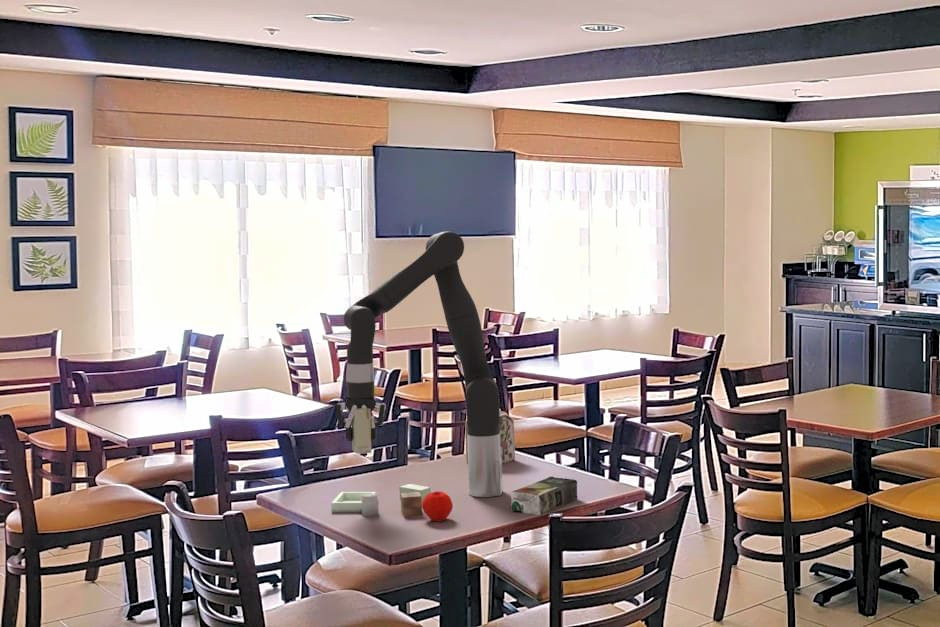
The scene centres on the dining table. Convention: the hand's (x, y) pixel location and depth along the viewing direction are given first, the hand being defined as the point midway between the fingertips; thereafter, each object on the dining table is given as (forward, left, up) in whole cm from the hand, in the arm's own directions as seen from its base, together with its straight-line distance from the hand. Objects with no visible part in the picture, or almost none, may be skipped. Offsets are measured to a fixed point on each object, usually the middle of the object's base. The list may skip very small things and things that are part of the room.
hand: (361, 440), depth 288 cm
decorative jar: (-30, -56, -19) cm, 66 cm away
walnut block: (-14, +6, -18) cm, 24 cm away
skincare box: (0, 0, -3) cm, 3 cm away
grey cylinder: (-3, +7, -18) cm, 20 cm away
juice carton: (-49, -1, -19) cm, 53 cm away
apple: (-22, +13, -18) cm, 32 cm away
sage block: (-13, -7, -18) cm, 24 cm away
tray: (+3, -1, -18) cm, 19 cm away
